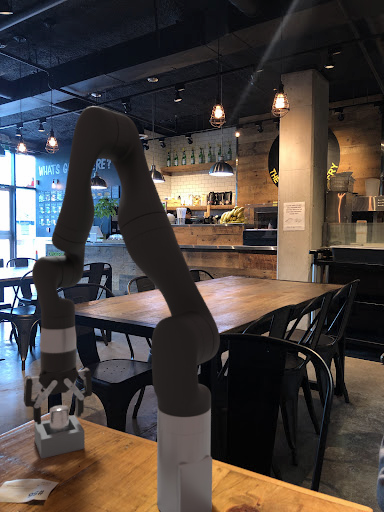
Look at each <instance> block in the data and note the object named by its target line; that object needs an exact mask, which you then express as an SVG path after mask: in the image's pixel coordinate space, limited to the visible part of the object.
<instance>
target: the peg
mask: <svg viewBox="0 0 384 512" xmlns="http://www.w3.org/2000/svg"><path fill="white" fill-rule="evenodd" d="M69 408H70V407H69V406H67V405H65V404H64V405H63V404H59V405H54V406H52V407H50V408H49V420H50V435H51V434H55V433H60V432H65V431H69V416H70V415H69V412H70V411H69V410H70V409H69Z"/></svg>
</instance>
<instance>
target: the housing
mask: <svg viewBox="0 0 384 512" xmlns="http://www.w3.org/2000/svg"><path fill="white" fill-rule="evenodd" d="M33 424H34V425H33V426H34V427H33V428H34V442H35V446H36V447H37V450H38V454H39V456H40V460H42V459H45V458H49V457H54V456H58V455H63V454H67V453H72V452H76V451H81V450H84V449H85V445H86V444H85V429H84V428H83V426H82V425H81V422H80V421H79V419H78V417H77V416H76V414H73V415H69V431H65V432H60V433H55V434H51V435H50V419H47V420H41V424H39V425H37V422H34V423H33Z"/></svg>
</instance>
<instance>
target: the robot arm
mask: <svg viewBox="0 0 384 512" xmlns="http://www.w3.org/2000/svg"><path fill="white" fill-rule="evenodd" d="M70 148H71V149H70V154H69V156H70V157H69V162H68V168H67V174H66V175H67V176H66V184H65V189H64V190H65V191H64V194H63V195H64V196H63V199H62V204H61V208H60V210H59V213H58V217H57V219H56V222H55V225H54V229H53V232H52V234H51V235H52V236H51V243H52V246H54V247H55V248H56V249H57V250H59V251H61V252H63V255H49V256H41V257H39V258H38V259H36V261H35V263H34V264H33V267H32V271H31V276H32V282H33V284H34V288H35V290H36V294H37V299H38V302H39V305H40V310H41V312H40V315H41V318H40V319H41V322H40V325H41V328H40V329H41V330H40V337H39V339H40V340H39V341H40V342H39V348H40V349H39V351H40V353H39V354H40V356H39V357H40V360H39V361H40V362H39V363H40V371H39V372H40V373H39V374H38V376H37V375H36V376H31V375H26V376H25V378H24V387H23V391H24V392H23V403H24V405H25V407H27V408H28V407H29V408H30V407H31V408H32V419H33V422H34V423H36V422H37V425H39V424H41V421H42V407H41V406H42V404H43V403H44V401H45V400H47V398H48V397H49V396H50V395H52V396H54V395H58V394H59V393H61V394H66V393H67V392H68V391H71V392H72V393H73V394H74V396H76V397H75V416H76V418H79V417H82V414H84V409H85V408H84V407H85V406H84V403H85V402H84V401H85V399H86V398H87V397H91V396H92V395H93V385H92V382H93V381H92V371H91V370H90V369H89V368H88V367H84V368H83V369H79V370H77V332H76V311H75V310H76V308H75V302H74V301H73V300H72V299H69V298H65V297H64V298H63V297H61V296H60V295H59V293H58V289H65V288H71V287H74V286H76V285H77V284H79V282H81V279H83V275H84V270H85V257H86V256H85V255H86V253H85V252H86V244H87V242H88V238H89V236H90V233H91V230H92V227H93V225H94V221H95V209H96V208H95V204H94V203H95V202H94V197H93V190H92V175H93V172H94V169H95V166H96V163H97V161H98V159H102V160H103V159H104V160H108V161H110V163H112V165H113V167H114V168H115V171H116V174H117V175H118V178H119V182H120V185H121V186H120V187H121V191H120V192H121V194H120V199H119V205H118V209H117V225H118V230H119V232H120V234H121V237H122V239H123V243H124V246H125V247H126V250H127V252H128V255H129V257H130V259H132V262H134V264H135V265H136V266H137V268H138V269H140V271H141V272H142V273H143V274H144V275H145V276H146V277H147V278H148V279H149V281H151V282H152V284H153V285H154V286H156V288H157V290H158V291H159V292H160V294H161V295H162V297H163V298H164V301H165V302H166V303H165V304H166V305H167V307H168V310H169V312H170V316H167V317H165V318H162V319H161V320H159V322H158V323H157V324H156V326H155V327H154V329H153V332H152V337H151V345H150V346H151V347H150V350H151V352H150V353H151V370H152V371H151V372H152V386H153V390H154V393H155V396H156V399H157V418H156V419H157V421H156V423H157V424H156V427H157V429H156V431H157V433H156V434H157V436H156V437H157V438H156V439H157V441H156V442H157V443H156V451H157V453H156V456H157V457H156V469H157V470H156V475H157V476H156V487H157V488H156V491H157V492H156V505H157V508H158V510H159V512H212V510H213V509H212V508H213V457H212V456H211V431H212V430H211V428H212V427H211V425H212V424H211V423H212V422H211V421H212V416H211V415H212V413H211V412H212V411H211V410H212V394H211V391H210V389H209V387H207V386H206V385H204V384H201V383H199V376H198V365H200V364H204V363H206V362H208V361H210V360H211V359H213V358H214V357H215V356H216V354H217V353H218V351H219V348H220V343H221V340H220V338H221V337H220V332H219V327H218V325H217V323H216V321H215V318H214V316H213V314H212V312H211V311H210V309H209V307H208V304H207V303H206V301H205V300H204V297H203V295H202V294H201V291H200V289H199V288H198V286H197V284H196V282H195V280H194V278H193V275H192V274H191V271H190V268H189V266H188V263H187V261H186V259H185V256H184V254H183V252H182V249H181V248H180V245H179V244H180V243H179V241H178V239H177V236H176V234H175V230H174V228H173V226H172V223H171V220H170V218H169V217H168V213H167V211H166V209H165V207H164V205H163V203H162V200H161V198H160V195H159V193H158V189H157V186H156V184H155V181H154V179H153V177H152V174H151V170H150V168H149V165H148V161H147V158H146V153H145V151H144V150H145V149H144V147H143V144H142V141H141V137H140V133H139V131H138V128H137V126H136V124H135V122H134V121H133V120H132V119H131V118H130V117H128V116H127V115H126V114H123V113H120V112H117V111H114V110H110V109H108V108H105V107H101V106H98V105H97V106H96V105H92V106H91V105H90V106H87V107H86V108H84V109H83V111H82V112H81V113H80V114H79V116H78V119H77V120H76V123H75V127H74V131H73V136H72V143H71V147H70ZM78 377H80V379H82V380H83V389H82V390H81V391H80V389H79V388H78V387H77V386H76V385H75V382H76V381H77V379H78ZM37 383H39V384H40V386H41V387H40V389H39V390H38V392H37V394H36V395H35V397H34V398H32V396H33V395H32V394H33V388H34V387H36V385H37Z"/></svg>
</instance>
